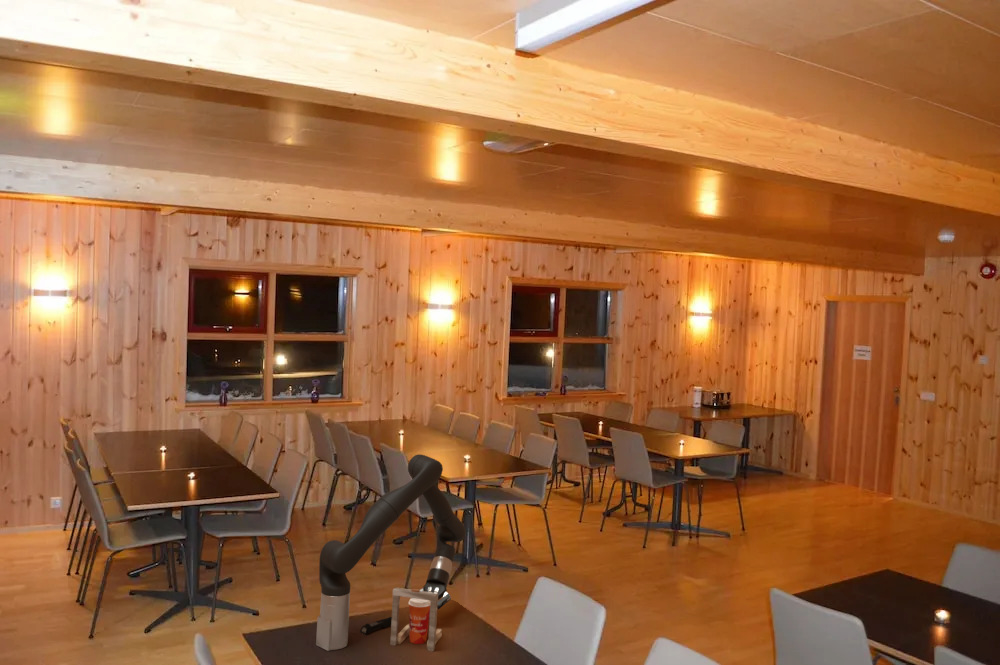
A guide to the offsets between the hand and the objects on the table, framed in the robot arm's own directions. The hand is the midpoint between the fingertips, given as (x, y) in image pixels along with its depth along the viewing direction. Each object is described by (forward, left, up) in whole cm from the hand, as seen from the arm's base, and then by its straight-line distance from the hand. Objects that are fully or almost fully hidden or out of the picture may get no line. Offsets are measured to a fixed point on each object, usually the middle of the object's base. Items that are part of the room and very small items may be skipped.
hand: (426, 618), depth 271 cm
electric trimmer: (-9, +14, -5) cm, 17 cm away
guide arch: (-8, -4, -5) cm, 9 cm away
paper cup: (-7, -3, -5) cm, 9 cm away
